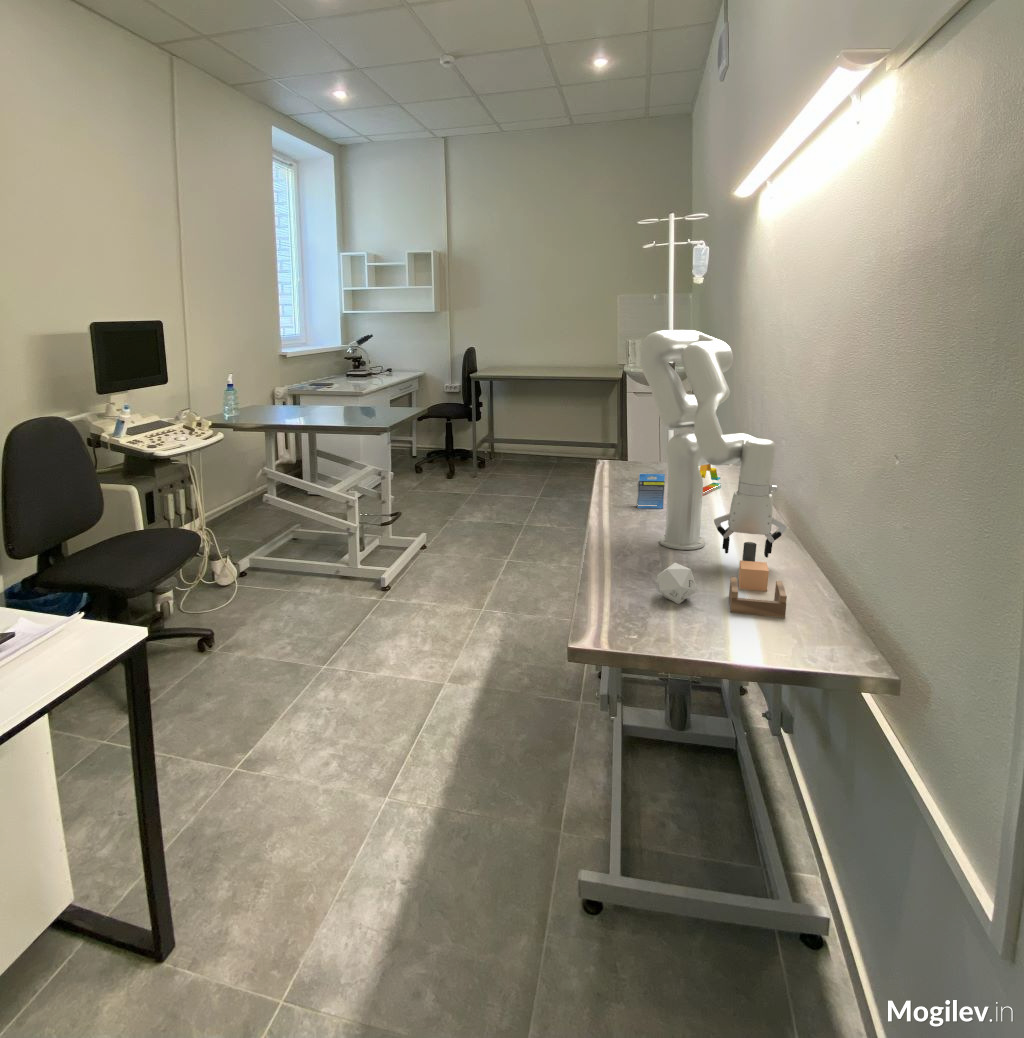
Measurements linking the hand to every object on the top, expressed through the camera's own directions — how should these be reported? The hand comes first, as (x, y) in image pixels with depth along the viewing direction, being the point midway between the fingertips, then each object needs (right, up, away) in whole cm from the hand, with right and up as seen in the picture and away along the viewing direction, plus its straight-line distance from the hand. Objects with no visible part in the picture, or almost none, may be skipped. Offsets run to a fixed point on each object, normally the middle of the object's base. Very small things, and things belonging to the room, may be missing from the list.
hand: (746, 553), depth 168 cm
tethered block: (-2, -5, -7) cm, 9 cm away
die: (-23, -9, -20) cm, 32 cm away
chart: (+11, +18, +77) cm, 80 cm away
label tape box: (-12, +13, +59) cm, 62 cm away
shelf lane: (-7, -10, -25) cm, 27 cm away
